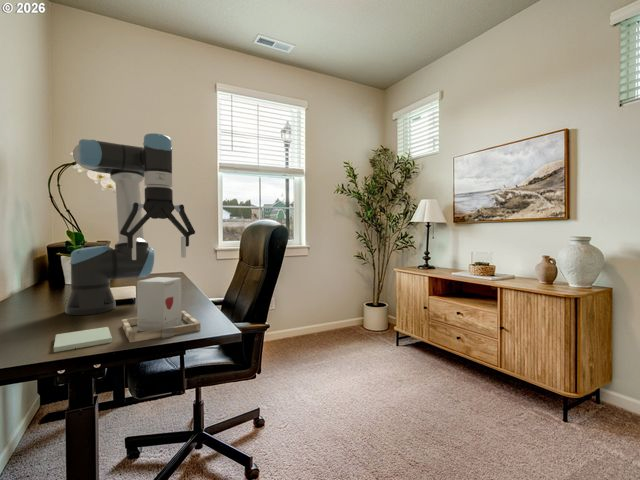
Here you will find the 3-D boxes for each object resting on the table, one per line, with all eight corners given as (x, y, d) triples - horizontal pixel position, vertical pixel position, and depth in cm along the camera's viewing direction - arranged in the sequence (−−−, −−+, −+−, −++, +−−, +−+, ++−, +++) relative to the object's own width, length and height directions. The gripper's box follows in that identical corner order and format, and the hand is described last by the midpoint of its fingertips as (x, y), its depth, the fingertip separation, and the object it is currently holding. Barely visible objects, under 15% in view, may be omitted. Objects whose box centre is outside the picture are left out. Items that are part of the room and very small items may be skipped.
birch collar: (121, 325, 103) (121, 317, 102) (183, 315, 113) (183, 309, 113) (130, 343, 86) (130, 334, 86) (201, 330, 97) (201, 322, 97)
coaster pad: (56, 338, 90) (55, 334, 90) (108, 330, 97) (108, 326, 97) (53, 352, 80) (53, 347, 80) (111, 342, 87) (111, 337, 87)
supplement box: (163, 333, 95) (162, 282, 94) (136, 331, 96) (135, 280, 96) (182, 324, 103) (182, 277, 103) (157, 323, 105) (157, 276, 105)
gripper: (110, 182, 88) (112, 261, 88) (204, 189, 103) (205, 257, 103) (108, 185, 94) (109, 259, 95) (197, 191, 109) (198, 255, 109)
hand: (159, 258), depth 99 cm, fingers open, 13 cm apart
